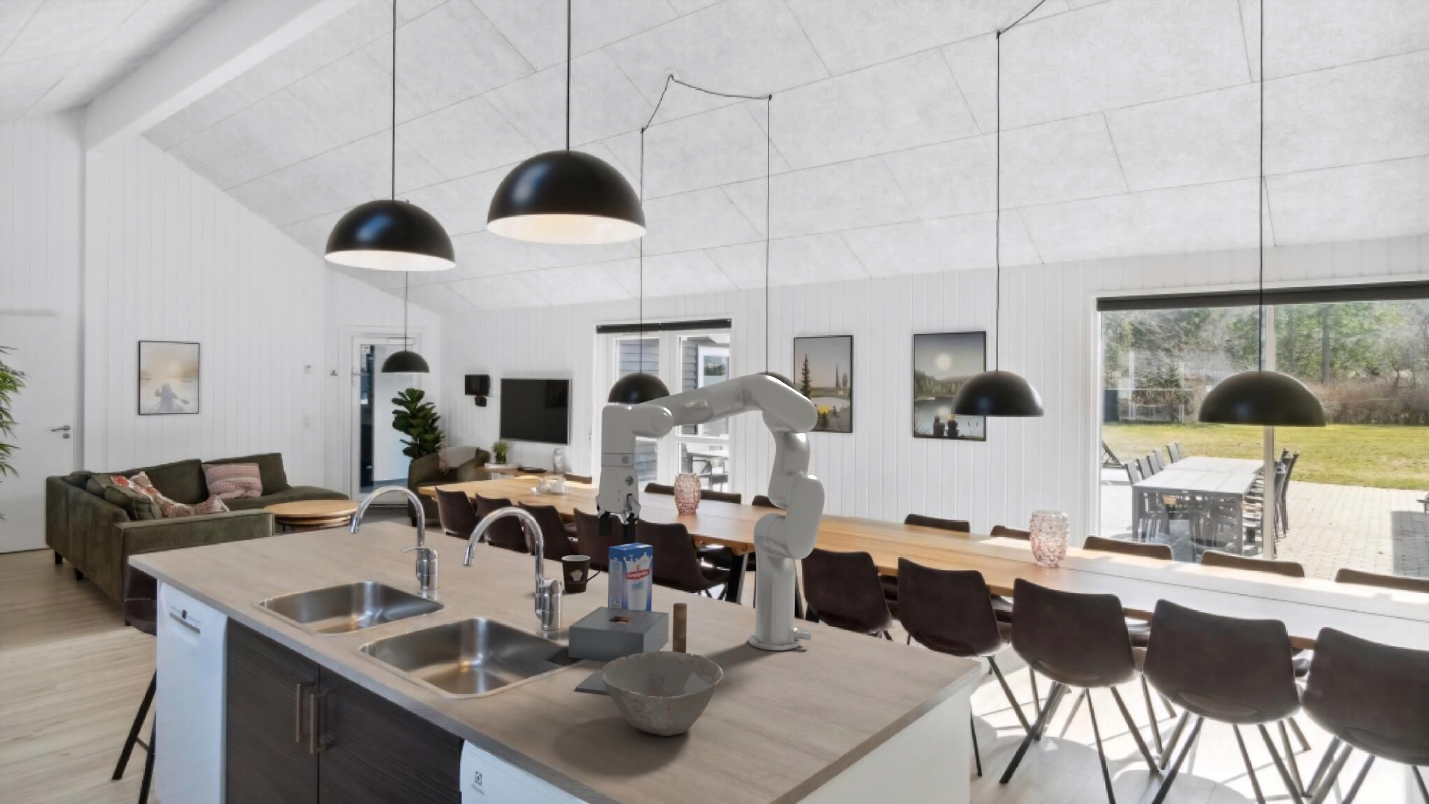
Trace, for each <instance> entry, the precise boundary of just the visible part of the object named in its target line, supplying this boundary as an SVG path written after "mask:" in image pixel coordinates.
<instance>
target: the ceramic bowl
mask: <svg viewBox="0 0 1429 804" xmlns="http://www.w3.org/2000/svg"><path fill="white" fill-rule="evenodd" d="M601 668H602V669H601V670H600V672H601V678H602V680H603V683H604V685H605V687H606V689H607V691H608V693H609V694H608V695H609V696H610V699H611V700H612V702H613V703H614V705H615V707H616V709H617V710H618V711H619V712H620V714H621V716H623V718H624V719H625V720H626V722H627V723H628V724H629V725H630V726H632V727H633V728H635V729H637V730H639V731H643V732H645V733H650V734H653V735H658V736H662V737H670V736H675V735H680V734H683V733H685V732H687V731H688V730H689V729H690V728H691V727H693V725H694V724H695V723H696V722H697V720H698V719H699V718H700V717H701V716H702V714H703V713H704V711H706V710H705V709H706V708H707V706H708V705H709V702H710V701H711V699H712V697H713V695H714V693H715V692H716V690H717V688H718V686H719V685H720V683H721V681H722V680H723V678H724V672H723V669H722V668H721V666H720V665H719V664H717V663H716V662H714V661H712V660H710V659H709V658H707V657H705V656H703V655H699V654H695V653H694V654H691V652H690V653H687V652H686V653H680V652H672V651H669V650H668V651H665V650H662V651H661V650H659V651H657V652H654V651H653V652H652V653H650V652H643V653H641V654H640V653H636V654H632V655H628V657H625V656H624V657H620V658H617V659H615V660H613V661H610V662H607V663H606V664H604V666H602V667H601Z"/></svg>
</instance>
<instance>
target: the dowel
mask: <svg viewBox="0 0 1429 804" xmlns="http://www.w3.org/2000/svg"><path fill="white" fill-rule="evenodd" d="M672 608H673V609H672V610H673V611H672V613H673V614H672V649H671V650H672V651H671V652H680V653H686V654H687V625H688V624H687V623H688V621H687V619H688V617H687V616H688V613H687V612H688V604H687V603H686V602H674V603H673V605H672Z"/></svg>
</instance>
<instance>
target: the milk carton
mask: <svg viewBox="0 0 1429 804" xmlns="http://www.w3.org/2000/svg"><path fill="white" fill-rule="evenodd" d="M653 549H654V546H653V545H652V544H651V545H650V544H646V543H642V542H631V543H624V544H621V545H614V546H609V547H608V580H607V581H608V582H607V583H608V584H607V586H608V587H607V607H610V608H621V609H631V610H642V611H652V604H653V603H652V601H653V599H652V598H653V596H652V595H653V556H654V555H653V553H654V552H653V551H654V550H653Z"/></svg>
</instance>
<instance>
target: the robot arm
mask: <svg viewBox="0 0 1429 804" xmlns="http://www.w3.org/2000/svg"><path fill="white" fill-rule="evenodd" d="M753 411H759V412H761V411H762V413H761V414H762V420H763V423H764V424H765V426H766V427H767V429H768V430H769V431H770V433H771V434H772V437H773V440H774V442H775V455H774V461H773V465H772V471H771V475H770V479H769V484H768V487H767V488H768V489H767V496H768V500H769V502H770V503H771V504H772V505H773V506H775V507H777V508H778V509H779V508H780V509H783V510H786V512H785V514H781V513H777V512H772V513H771V512H769V513H766V514H764V515H762V516H761V517H760V518H758V519H757V521H756V523H755V525H754V529H753V543H754V544H753V545H754V550H755V560H756V570H755V571H756V575H755V576H756V577H755V614H754V615H755V617H754V618H755V619H754V620H755V621H754V622H755V623H754V632H753V633H751V634H750V635H748V644H750V645H751V646H753V647H755V648H757V649H761V650H766V651H767V650H768V651H789V650H793V649H796V648H798V647H799V646H800V645H801V640H805V641H812V640H813V632H811V631H809V629H800V628H799V627H798V623H797V622H795V608H796V607H795V601H796V596H795V594H796V591H795V590H796V567H795V560H796V561H799V560H803V559H806V558H807V557H808V556H809V555H810V554H811V553H812V552H813V550H814V548H815V546H816V542H817V541H818V540H817V539H818V535H819V531H820V526H821V522H822V516H823V511H824V506H825V498H826V496H825V494H826V493H825V489H824V486H823V483H822V482H821V480H820V479H819V478H818V477H816V476H815V475H813V474H811V473H808V471H809V470H808V469H809V464H810V457H811V444H810V440H809V437H808V436H807V433H808V432H811V430H813V429H814V428H815V427H816V425H817V422H818V418H819V417H818V416H819V415H818V414H819V413H818V411H817V408H816V406H815V404H814V403H813V402H812V401H811V400H810V399H809V398H808V397H806V396H804V395H802V394H801V393H800V392H798V391H797V390H795V389H794V388H792V387H790V386H788V385H787V384H785V383H783V382H782V381H781V380H779V379H778V378H776V377H774V376H771V375H768V374H749V375H748V374H745V375H741V376H737V377H734V378H730V379H727V380H724V381H720V382H716V383H713V384H708V385H705V386H700V387H698V388H694V389H690V390H686V391H682V392H679V393H678V392H677V393H675V394H671V395H667V396H663V397H662V396H661V397H658V398H655V399H652V400H648V401H644V402H641V403H637V404H635V405H633V406H632V405H627V404H625V405H624V404H608V405H605V406H604V407H603V408H602V411H601V436H600V437H601V438H600V439H601V442H600V449H601V450H600V469H601V470H600V476H599V487H598V494H597V495H596V496H595V503H596V504H595V505H596V510H597V512H598V513H597V518H598V534H597V535H598V536H599V537H606V536H612V535H613V517H612V514H616V515H620V516H621V519H622V524H621V543H622V544H631V543H636V539H637V538H636V533H637V532H636V530H637V529H636V528H637V527H636V526H637V524H638V519H639V518H640V513H641V509H642V505H641V504H640V495H639V494H640V493H639V491H640V490H639V479H638V472H637V468H636V448H637V447H636V442H637V441H636V440H637V437H640V438H641V437H642V438H648V439H656V440H657V439H662V438H664V437H666V436H667V435H668V434H670V433H671V431H672V429H673V428H675V427H679V426H688V425H690V426H691V425H704V424H711V423H714V422H718V421H721V420H723V419H727V418H730V417H733V416H738V415H740V414H744V413H747V412H753ZM627 515H628V516H627Z"/></svg>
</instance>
